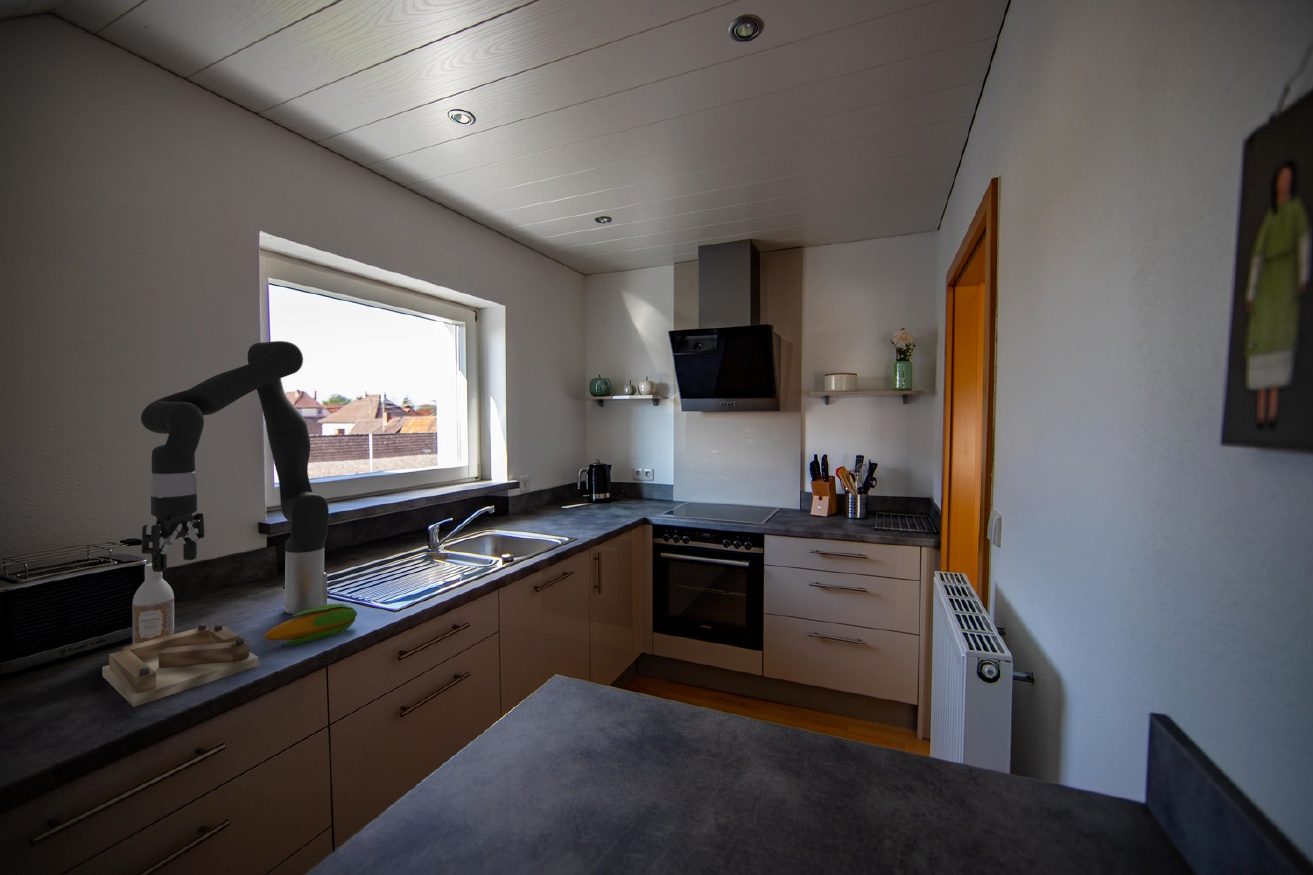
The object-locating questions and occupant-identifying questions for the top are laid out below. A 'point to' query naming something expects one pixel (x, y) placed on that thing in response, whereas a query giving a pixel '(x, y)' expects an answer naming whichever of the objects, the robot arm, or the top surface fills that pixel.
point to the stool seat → (147, 682)
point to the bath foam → (152, 608)
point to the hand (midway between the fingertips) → (175, 565)
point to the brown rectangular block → (204, 653)
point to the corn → (314, 624)
